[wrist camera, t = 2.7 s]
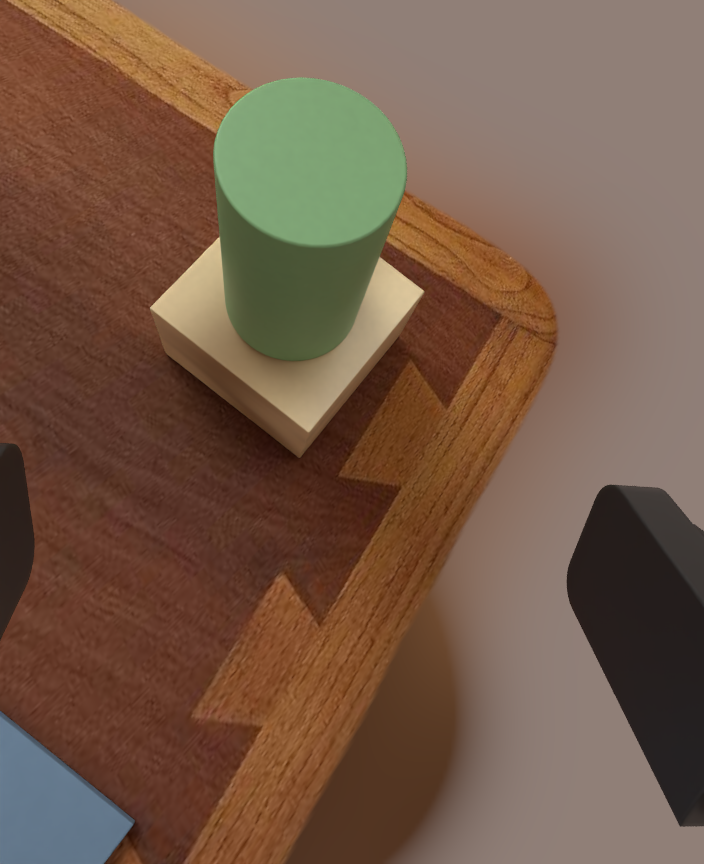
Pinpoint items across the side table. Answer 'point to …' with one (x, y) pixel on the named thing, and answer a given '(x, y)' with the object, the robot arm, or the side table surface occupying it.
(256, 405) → the maple block
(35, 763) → the blue mat
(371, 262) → the green canister
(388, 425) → the side table surface
